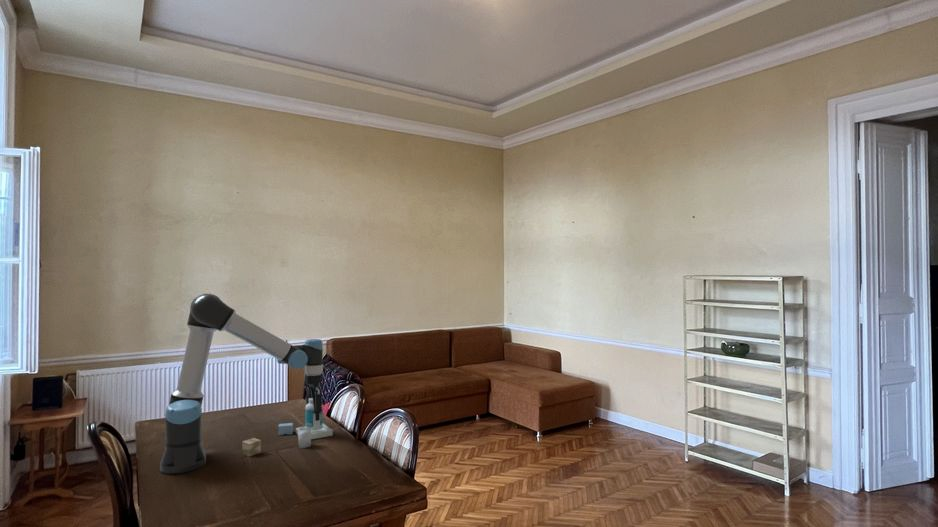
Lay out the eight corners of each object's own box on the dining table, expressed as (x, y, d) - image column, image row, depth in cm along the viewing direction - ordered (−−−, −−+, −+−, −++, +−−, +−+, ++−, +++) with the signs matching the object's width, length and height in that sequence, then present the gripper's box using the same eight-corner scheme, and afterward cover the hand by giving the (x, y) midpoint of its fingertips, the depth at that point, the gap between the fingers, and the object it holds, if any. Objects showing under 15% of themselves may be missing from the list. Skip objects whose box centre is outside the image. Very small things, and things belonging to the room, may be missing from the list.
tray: (304, 440, 219) (304, 435, 219) (295, 433, 229) (295, 428, 229) (332, 435, 226) (332, 430, 226) (323, 428, 236) (323, 423, 236)
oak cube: (249, 456, 201) (249, 443, 201) (242, 453, 204) (242, 441, 204) (260, 452, 205) (260, 440, 205) (253, 450, 208) (253, 438, 208)
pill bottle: (319, 431, 224) (319, 400, 224) (302, 431, 224) (302, 400, 224) (324, 426, 231) (324, 396, 231) (308, 426, 231) (308, 396, 232)
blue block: (278, 435, 227) (278, 426, 227) (279, 432, 230) (279, 424, 230) (292, 434, 228) (292, 425, 228) (292, 431, 232) (292, 422, 232)
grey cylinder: (300, 448, 209) (300, 434, 209) (296, 445, 213) (296, 431, 213) (312, 446, 212) (312, 432, 212) (308, 443, 216) (308, 429, 216)
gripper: (329, 376, 222) (329, 429, 221) (315, 369, 238) (315, 418, 238) (312, 378, 217) (312, 432, 217) (298, 371, 234) (298, 421, 234)
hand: (313, 425), depth 228 cm, fingers closed on pill bottle, 7 cm apart
